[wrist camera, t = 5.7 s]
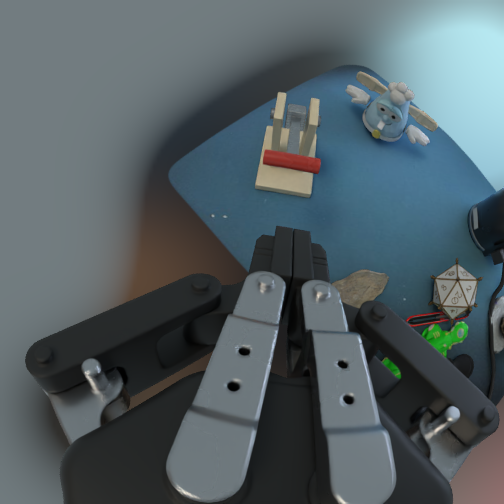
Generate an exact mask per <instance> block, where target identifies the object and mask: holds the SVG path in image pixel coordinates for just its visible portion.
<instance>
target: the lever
mask: <svg viewBox="0 0 504 504" xmlns="http://www.w3.org/2000/svg"><path fill="white" fill-rule="evenodd" d="M305 118H306V107H305V106H300V105H294V104H288V110H287V117H286V123H285V128H286V129H289V137H288V145H287V152H281V151H274V150H268V149H265V151H264V156H263V165H268V166H274V167H280V168H286V169H292V170H298V171H303V172H308V173H314V174H318V173H319V170H320V164H321V159H319V158H314V157H309V156H304V155H299V142H300V131H303V129H304V124H305Z"/></svg>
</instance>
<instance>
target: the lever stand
mask: <svg viewBox="0 0 504 504" xmlns="http://www.w3.org/2000/svg"><path fill="white" fill-rule="evenodd" d="M286 95H287V94H286V93H278V97H277V102H276V108H272V109H271V116H270V119H273V127H272V126H267V128H266V133H265V138H264V143H263V148H262V153H261V159H260V164H259V169H258V174H257V179H256V184H255V189H260V190H266V191H272V192H278V193H284V194H290V195H295V196H301V197H306V198H310V195H311V190H312V180H313V173H308V172H303V171H298V170H292V169H286V168H280V167H274V166H268V165H263V156H264V151H265V149H268V150H274V151H281V152H287V145H288V137H289V129H285V128H282V125H283V118H284V110H285V102H286ZM318 114H319V99H315V98H311V102H310V106H309V110H308V114H307V118H306V123H305V127H304V131H303V132H302V131H300V142H299V155H304V156H309V157H314V158H315V149H316V137H317V134H315V133H316V129H317V127H320V123H321V116H318Z"/></svg>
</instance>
